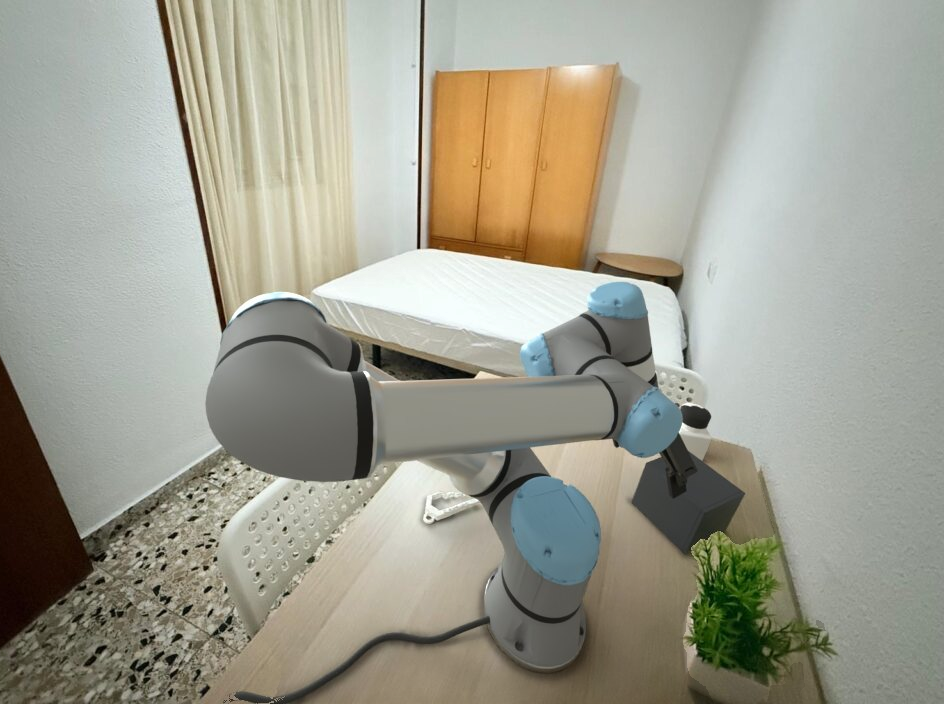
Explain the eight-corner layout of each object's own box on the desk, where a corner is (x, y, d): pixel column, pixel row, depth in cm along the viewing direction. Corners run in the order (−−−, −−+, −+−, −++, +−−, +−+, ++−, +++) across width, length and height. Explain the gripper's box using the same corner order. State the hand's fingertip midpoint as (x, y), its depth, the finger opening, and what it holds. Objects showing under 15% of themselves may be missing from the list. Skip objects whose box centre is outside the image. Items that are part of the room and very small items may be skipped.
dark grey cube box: (723, 534, 77) (745, 493, 72) (684, 554, 73) (705, 512, 68) (668, 486, 86) (684, 447, 82) (631, 502, 82) (645, 462, 78)
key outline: (473, 485, 85) (474, 479, 84) (485, 503, 81) (486, 497, 80) (416, 504, 80) (416, 498, 79) (425, 525, 76) (426, 519, 75)
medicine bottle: (702, 462, 93) (721, 421, 88) (669, 456, 94) (685, 416, 89) (691, 441, 100) (707, 402, 94) (660, 436, 101) (675, 397, 96)
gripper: (720, 403, 53) (728, 508, 62) (599, 335, 76) (617, 419, 84) (673, 429, 52) (688, 531, 61) (565, 353, 75) (587, 435, 84)
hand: (647, 466), depth 73 cm, fingers open, 13 cm apart
